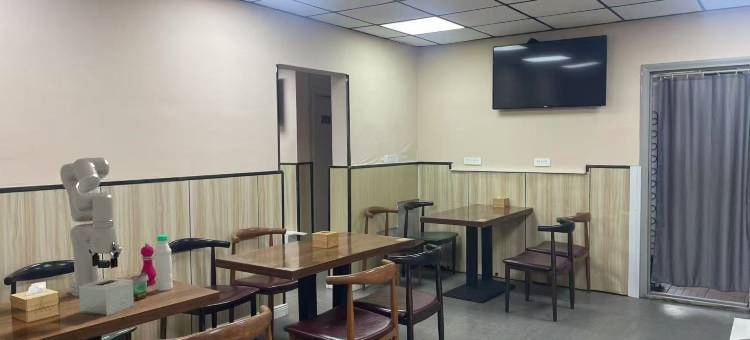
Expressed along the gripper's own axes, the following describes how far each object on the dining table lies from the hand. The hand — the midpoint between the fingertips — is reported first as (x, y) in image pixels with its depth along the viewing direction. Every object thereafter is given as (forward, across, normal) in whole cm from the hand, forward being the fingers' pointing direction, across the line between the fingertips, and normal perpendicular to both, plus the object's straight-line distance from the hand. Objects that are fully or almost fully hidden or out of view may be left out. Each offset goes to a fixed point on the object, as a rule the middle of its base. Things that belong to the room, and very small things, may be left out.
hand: (105, 266), depth 234 cm
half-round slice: (+18, +2, +16) cm, 24 cm away
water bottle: (+18, +1, +32) cm, 37 cm away
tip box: (+18, +1, 0) cm, 18 cm away
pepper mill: (+19, -14, +38) cm, 45 cm away
